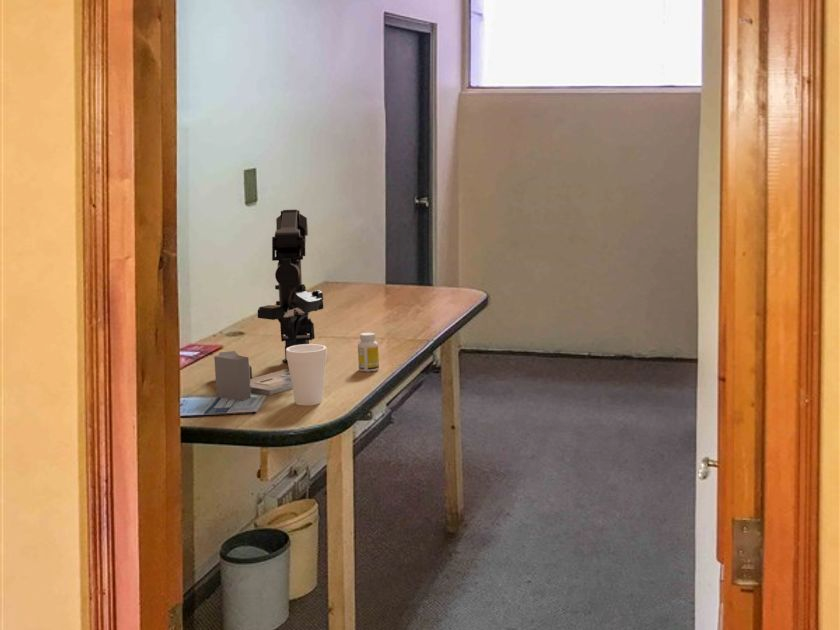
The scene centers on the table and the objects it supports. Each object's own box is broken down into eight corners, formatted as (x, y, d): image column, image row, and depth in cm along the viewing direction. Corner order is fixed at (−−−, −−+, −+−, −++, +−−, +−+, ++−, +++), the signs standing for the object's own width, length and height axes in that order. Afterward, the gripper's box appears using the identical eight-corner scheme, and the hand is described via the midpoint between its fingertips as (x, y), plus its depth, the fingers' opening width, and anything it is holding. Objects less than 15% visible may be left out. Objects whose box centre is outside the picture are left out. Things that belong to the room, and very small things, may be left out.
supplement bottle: (381, 368, 280) (380, 332, 278) (375, 372, 275) (374, 336, 273) (362, 367, 281) (361, 331, 279) (355, 371, 276) (354, 335, 274)
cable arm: (220, 375, 275) (218, 351, 273) (236, 374, 276) (234, 349, 275) (237, 395, 254) (235, 368, 253) (254, 393, 255) (253, 367, 254)
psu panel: (285, 373, 276) (284, 368, 276) (321, 379, 268) (321, 373, 268) (233, 388, 262) (233, 382, 261) (270, 395, 254) (270, 389, 254)
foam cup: (283, 399, 249) (281, 346, 247) (320, 395, 253) (318, 342, 250) (295, 409, 241) (293, 354, 238) (333, 404, 244) (331, 349, 242)
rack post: (227, 393, 257) (225, 353, 255) (250, 397, 252) (248, 357, 250) (216, 396, 254) (214, 356, 252) (239, 400, 249) (237, 360, 248)
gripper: (286, 288, 253) (289, 351, 256) (337, 278, 268) (340, 338, 270) (254, 285, 260) (257, 346, 263) (306, 275, 274) (308, 333, 277)
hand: (292, 341), depth 268 cm, fingers closed
